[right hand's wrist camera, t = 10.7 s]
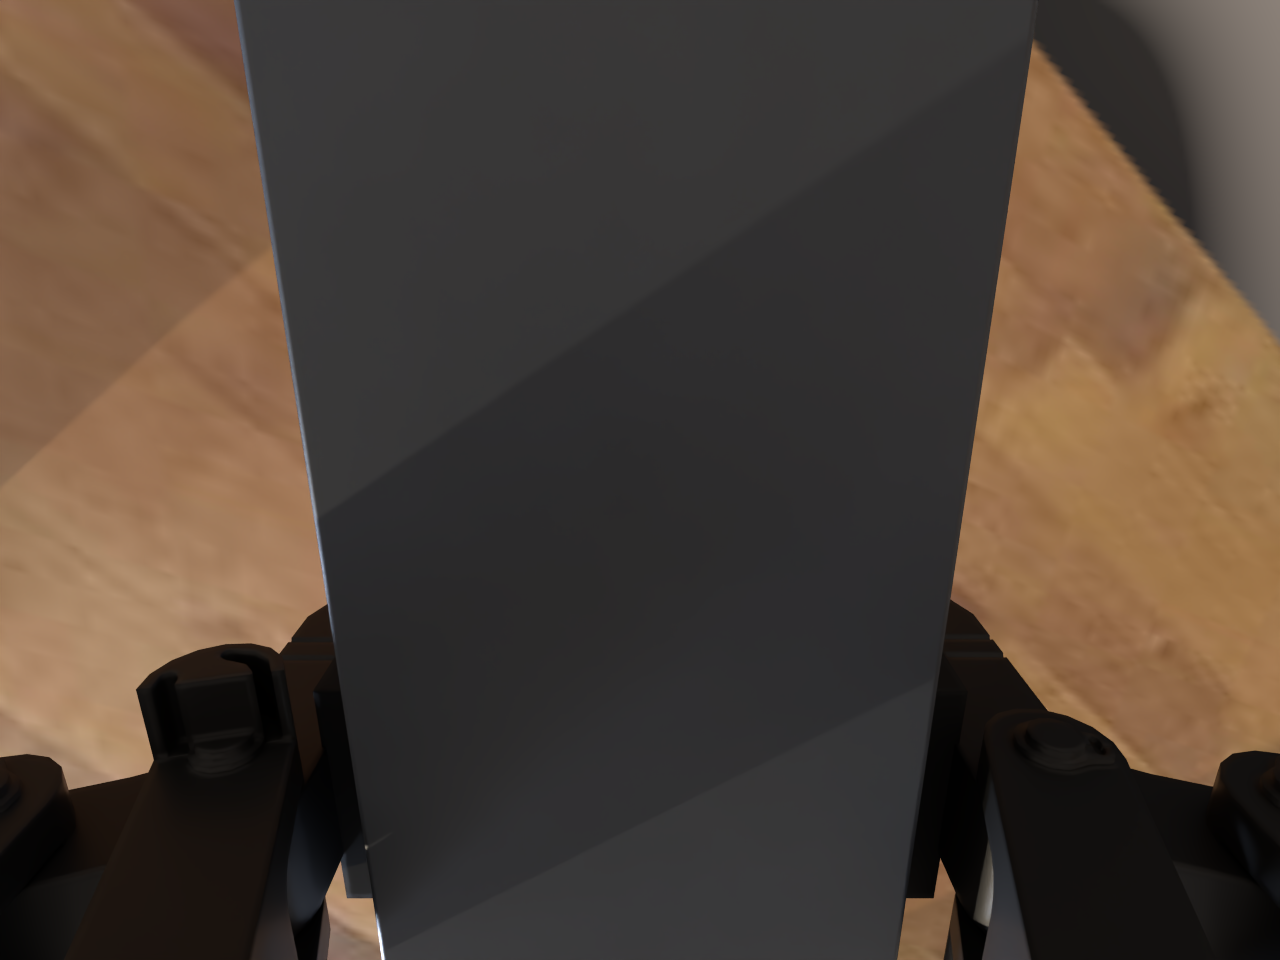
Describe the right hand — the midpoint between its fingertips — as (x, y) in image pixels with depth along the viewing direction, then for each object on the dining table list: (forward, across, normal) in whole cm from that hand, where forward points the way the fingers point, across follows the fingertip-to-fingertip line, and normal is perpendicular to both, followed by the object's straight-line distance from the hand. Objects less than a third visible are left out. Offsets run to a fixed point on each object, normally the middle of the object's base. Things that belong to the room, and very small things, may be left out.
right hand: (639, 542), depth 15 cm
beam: (+1, 0, -20) cm, 20 cm away
